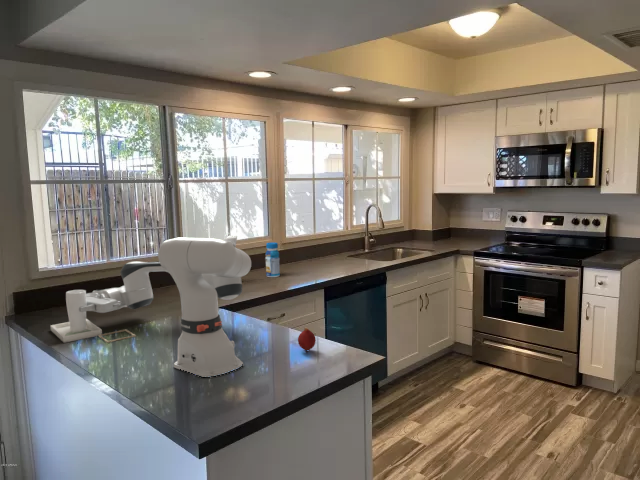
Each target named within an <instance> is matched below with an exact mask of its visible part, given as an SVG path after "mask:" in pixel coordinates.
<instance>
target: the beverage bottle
mask: <svg viewBox="0 0 640 480" xmlns="http://www.w3.org/2000/svg"><path fill="white" fill-rule="evenodd" d="M278 245H279V243H278V242H266V246H265V247H266V248H265V249H267V250H266V252H265V258H264V261H265V275H266V277H268V278H278V277H280V276H281V274H280V273H281V272H280V271H281V270H280V259H281V258H280V252H279V251H278V248H279V246H278Z"/></svg>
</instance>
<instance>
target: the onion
mask: <svg viewBox="0 0 640 480" xmlns="http://www.w3.org/2000/svg"><path fill="white" fill-rule="evenodd" d="M316 341H317V340H316V335H315V333H314V332H312V330H310V329H309V328H308V327H305V328H304V330H303V331H301V333H300V334H299V335H298V337H297V342H298V345H299V347H300V348H301V349H303V351H305V350H309V351H310V350H312V349H313V348H314V347H315V345H316V343H317V342H316Z"/></svg>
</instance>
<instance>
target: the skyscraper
mask: <svg viewBox="0 0 640 480" xmlns="http://www.w3.org/2000/svg"><path fill="white" fill-rule="evenodd" d="M230 234H231V233H230V232H227V233H225V234H224V237H223V240H225V241H229V242H231V243H232V244H234V245H235V247H236V246H237V241H238V236H237V235H234V236H233V235H230ZM227 235H228V236H227ZM226 236H227V237H226ZM236 248H237V247H236Z"/></svg>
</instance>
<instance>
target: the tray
mask: <svg viewBox="0 0 640 480" xmlns="http://www.w3.org/2000/svg"><path fill="white" fill-rule="evenodd" d="M50 331H51V332H52V333H53V334H54V335H55V336H56V337H57V338H58V339H59V340H60V341H61V342H62V343H64V344H65V343H69V342H74V341H79V340H80V341H81V340H84V339H89V338H93V337H94V338H95V337H97V336H98V335H102V334H103V330H102V328H101V327H99V326H98V325H96V324H94V323H93V322H92V321H91V320H89V319H88V318H86V330H84V331H82V332H71V331H70V324H69V321H67V322H66V321H65V322H62V323H56V324H52V325H51V324H50ZM98 337H99V336H98Z"/></svg>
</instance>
